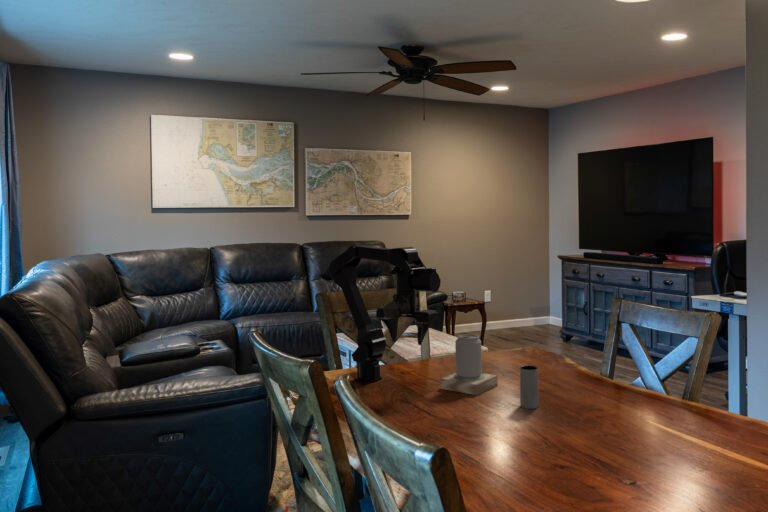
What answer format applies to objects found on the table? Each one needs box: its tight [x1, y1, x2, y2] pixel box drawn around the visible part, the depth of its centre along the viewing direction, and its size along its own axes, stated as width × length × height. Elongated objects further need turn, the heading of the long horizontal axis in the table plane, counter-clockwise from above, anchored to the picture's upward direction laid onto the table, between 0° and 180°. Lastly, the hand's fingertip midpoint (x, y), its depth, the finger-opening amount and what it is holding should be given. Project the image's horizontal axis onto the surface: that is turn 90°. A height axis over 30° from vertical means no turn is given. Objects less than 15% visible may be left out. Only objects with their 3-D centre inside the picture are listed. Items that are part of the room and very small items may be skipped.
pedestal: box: [440, 372, 498, 396], centre depth 179 cm, size 12×12×3 cm
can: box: [454, 333, 483, 379], centre depth 179 cm, size 8×8×12 cm
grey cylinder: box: [519, 365, 539, 410], centre depth 160 cm, size 4×4×10 cm
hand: (406, 343), depth 180 cm, fingers open, 9 cm apart
